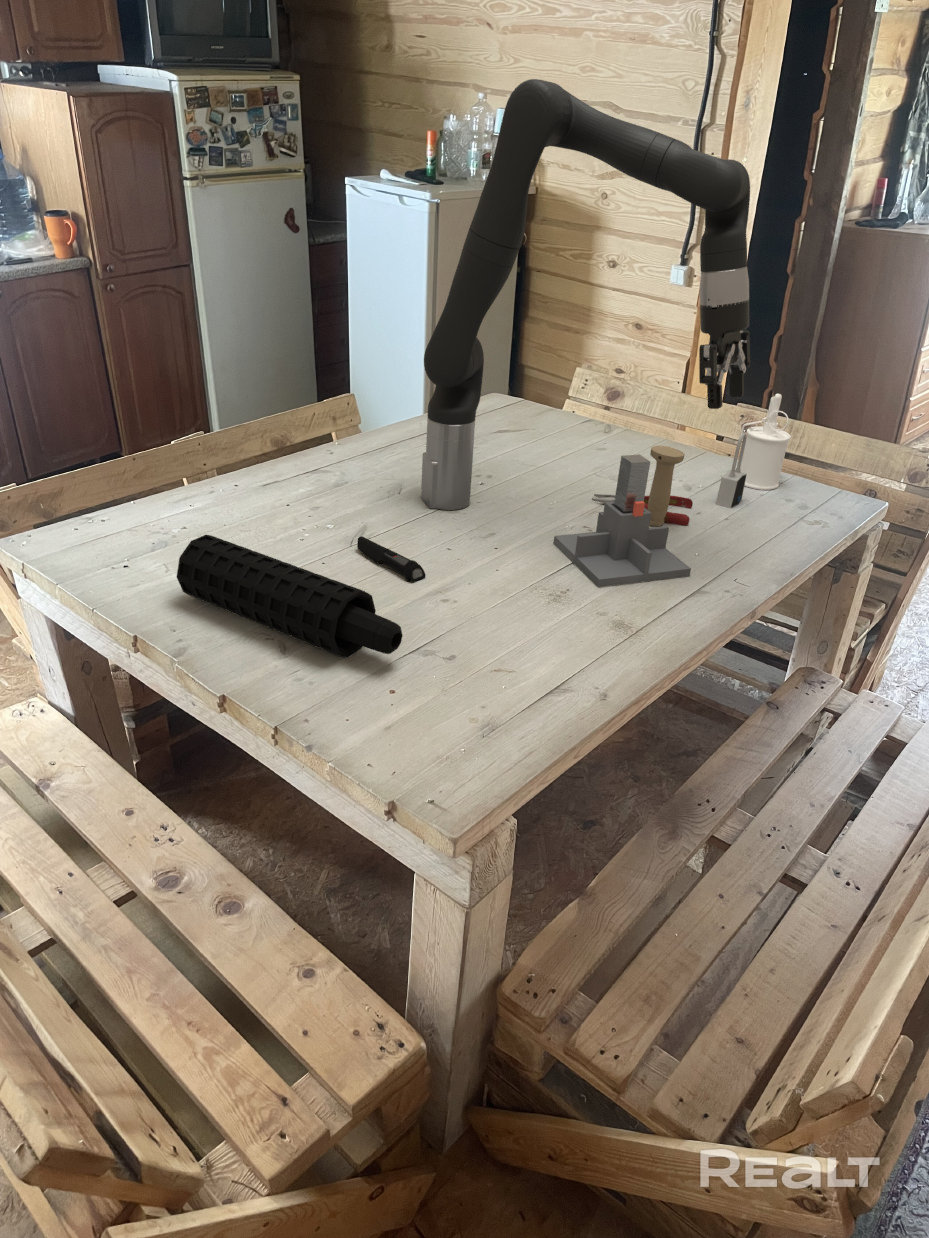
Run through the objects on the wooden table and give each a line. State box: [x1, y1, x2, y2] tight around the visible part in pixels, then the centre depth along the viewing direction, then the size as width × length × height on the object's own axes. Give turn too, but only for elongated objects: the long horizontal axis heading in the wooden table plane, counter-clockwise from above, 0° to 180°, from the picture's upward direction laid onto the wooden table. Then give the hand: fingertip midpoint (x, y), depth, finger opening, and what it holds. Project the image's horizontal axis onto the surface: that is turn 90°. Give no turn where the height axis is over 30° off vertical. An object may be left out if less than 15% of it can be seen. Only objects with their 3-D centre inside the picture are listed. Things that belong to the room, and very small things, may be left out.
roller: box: [176, 534, 403, 659], centre depth 132 cm, size 38×10×10 cm, turn 58°
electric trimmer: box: [356, 536, 426, 584], centre depth 154 cm, size 4×16×3 cm, turn 44°
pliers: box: [591, 493, 694, 527], centre depth 184 cm, size 11×20×3 cm, turn 73°
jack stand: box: [553, 501, 692, 588], centre depth 159 cm, size 18×18×12 cm
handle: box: [648, 445, 686, 527], centre depth 174 cm, size 5×6×15 cm
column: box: [614, 453, 651, 514], centre depth 157 cm, size 4×4×17 cm
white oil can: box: [739, 393, 792, 491], centre depth 197 cm, size 10×9×20 cm
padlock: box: [715, 432, 747, 509], centre depth 187 cm, size 7×4×15 cm, turn 145°
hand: (726, 402), depth 149 cm, fingers open, 8 cm apart
